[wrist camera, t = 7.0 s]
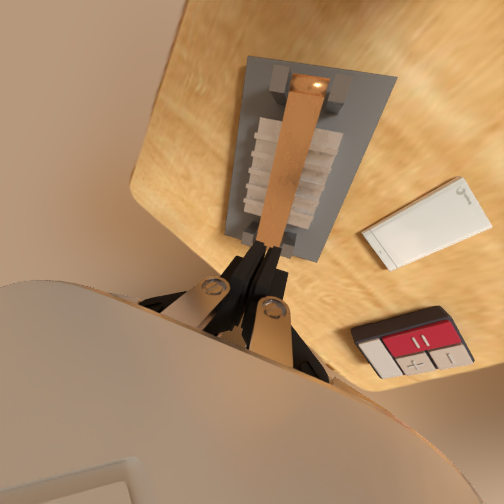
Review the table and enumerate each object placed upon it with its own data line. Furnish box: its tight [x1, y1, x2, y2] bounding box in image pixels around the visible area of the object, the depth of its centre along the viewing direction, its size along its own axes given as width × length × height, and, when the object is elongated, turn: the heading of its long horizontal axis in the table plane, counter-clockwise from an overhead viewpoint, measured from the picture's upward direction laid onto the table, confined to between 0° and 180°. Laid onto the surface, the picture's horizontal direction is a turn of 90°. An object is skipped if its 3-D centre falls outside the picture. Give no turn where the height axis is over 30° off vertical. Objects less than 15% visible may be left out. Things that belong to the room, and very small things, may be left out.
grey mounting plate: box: [225, 56, 398, 263], centre depth 28 cm, size 24×17×2 cm
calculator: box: [351, 306, 475, 379], centre depth 34 cm, size 11×4×15 cm
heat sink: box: [241, 65, 354, 259], centre depth 25 cm, size 20×10×5 cm, turn 169°
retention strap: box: [256, 73, 330, 250], centre depth 23 cm, size 20×4×2 cm, turn 169°
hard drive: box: [361, 176, 492, 271], centre depth 27 cm, size 2×8×12 cm
